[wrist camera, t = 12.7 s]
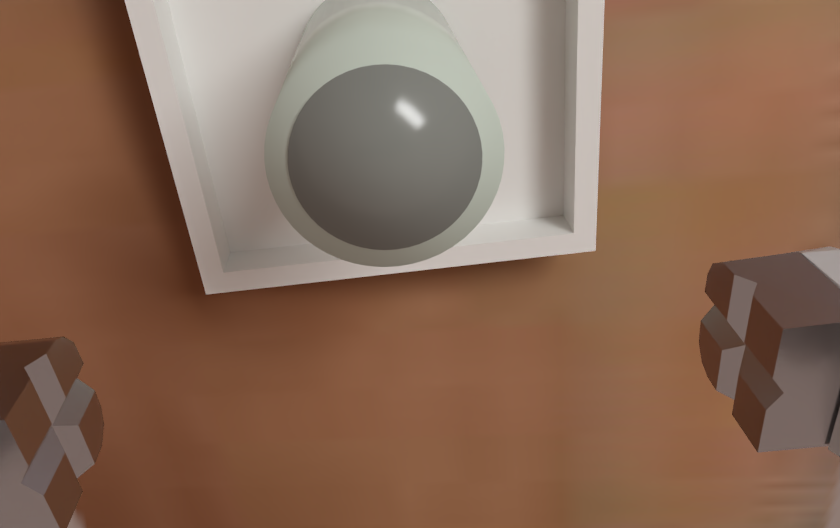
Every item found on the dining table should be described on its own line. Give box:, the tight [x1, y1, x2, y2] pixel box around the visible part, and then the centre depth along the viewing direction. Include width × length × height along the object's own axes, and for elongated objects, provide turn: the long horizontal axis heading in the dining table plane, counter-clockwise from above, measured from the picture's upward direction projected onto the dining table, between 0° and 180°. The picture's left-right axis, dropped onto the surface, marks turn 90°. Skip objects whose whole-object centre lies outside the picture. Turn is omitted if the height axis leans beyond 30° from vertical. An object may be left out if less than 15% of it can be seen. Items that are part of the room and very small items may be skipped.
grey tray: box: [125, 0, 605, 295], centre depth 23 cm, size 14×14×2 cm
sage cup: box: [264, 0, 505, 267], centre depth 19 cm, size 5×5×9 cm
